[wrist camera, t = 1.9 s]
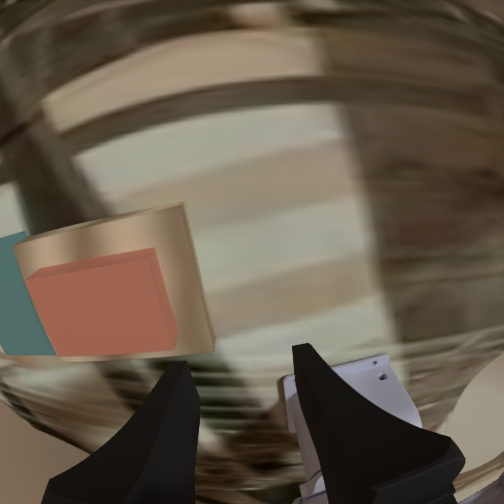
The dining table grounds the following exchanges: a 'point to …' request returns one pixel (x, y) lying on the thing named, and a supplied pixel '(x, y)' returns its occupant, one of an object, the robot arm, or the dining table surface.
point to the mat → (18, 307)
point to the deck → (130, 239)
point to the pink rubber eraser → (105, 305)
